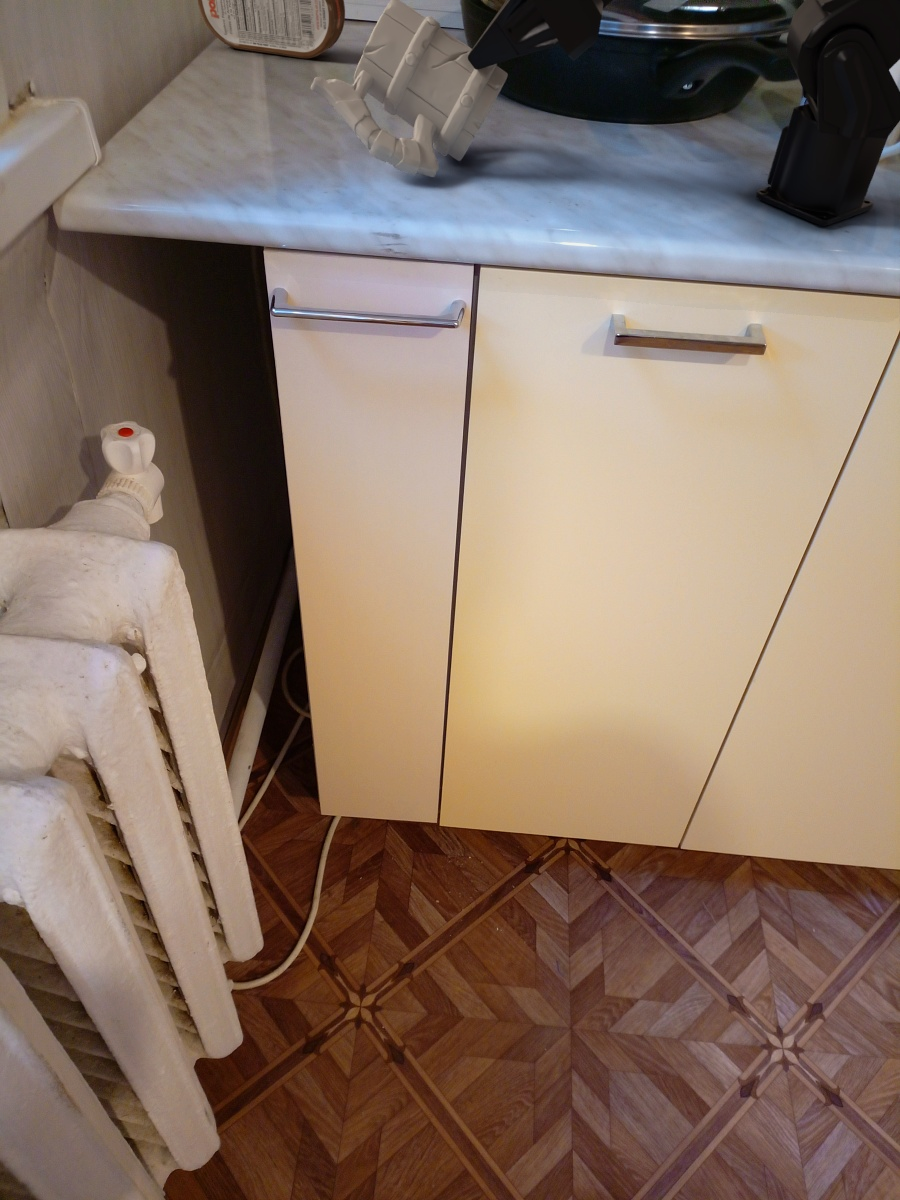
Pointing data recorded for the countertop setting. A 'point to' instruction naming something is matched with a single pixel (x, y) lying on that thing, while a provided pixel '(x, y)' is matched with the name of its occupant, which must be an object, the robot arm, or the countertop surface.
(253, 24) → the tin
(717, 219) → the countertop surface
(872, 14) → the robot arm
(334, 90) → the mug
